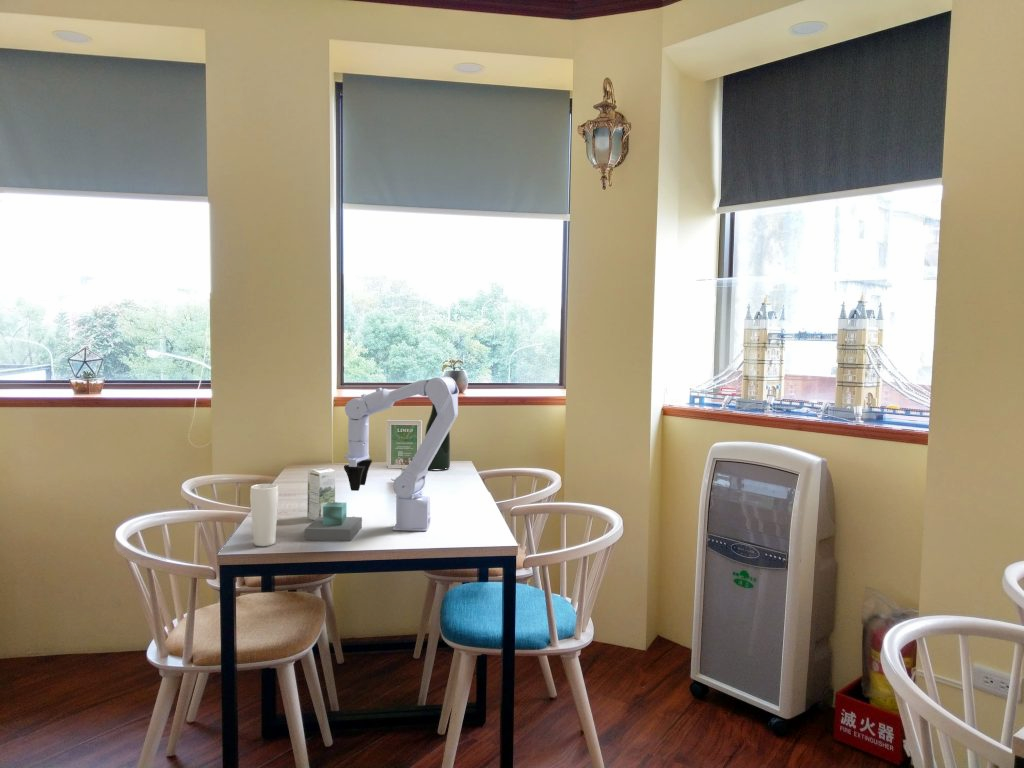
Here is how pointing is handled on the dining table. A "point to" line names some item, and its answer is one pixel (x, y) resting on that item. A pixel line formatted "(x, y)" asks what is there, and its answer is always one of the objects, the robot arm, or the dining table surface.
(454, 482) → the dining table surface
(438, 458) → the dark green bottle
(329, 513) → the teal cube
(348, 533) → the gray square slab
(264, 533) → the drinking glass
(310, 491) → the syrup box
